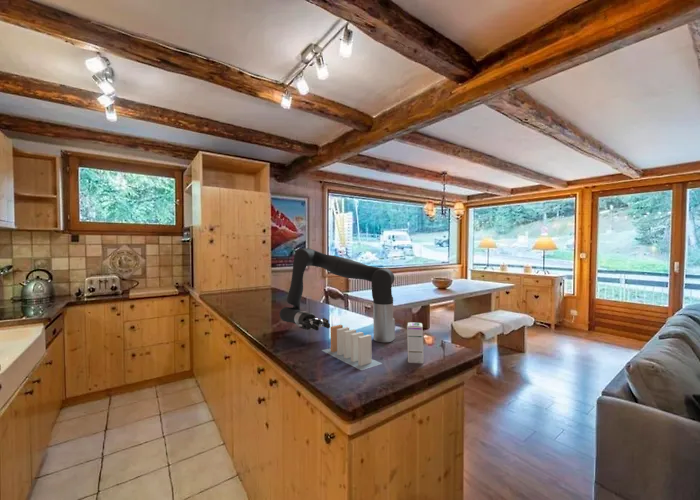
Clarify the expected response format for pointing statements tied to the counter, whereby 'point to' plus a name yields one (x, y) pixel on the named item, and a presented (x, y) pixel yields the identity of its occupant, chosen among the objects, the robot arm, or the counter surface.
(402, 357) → the counter surface
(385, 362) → the counter surface
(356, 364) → the board
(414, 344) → the syrup box
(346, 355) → the domino
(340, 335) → the domino
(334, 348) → the domino
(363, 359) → the domino
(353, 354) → the domino
